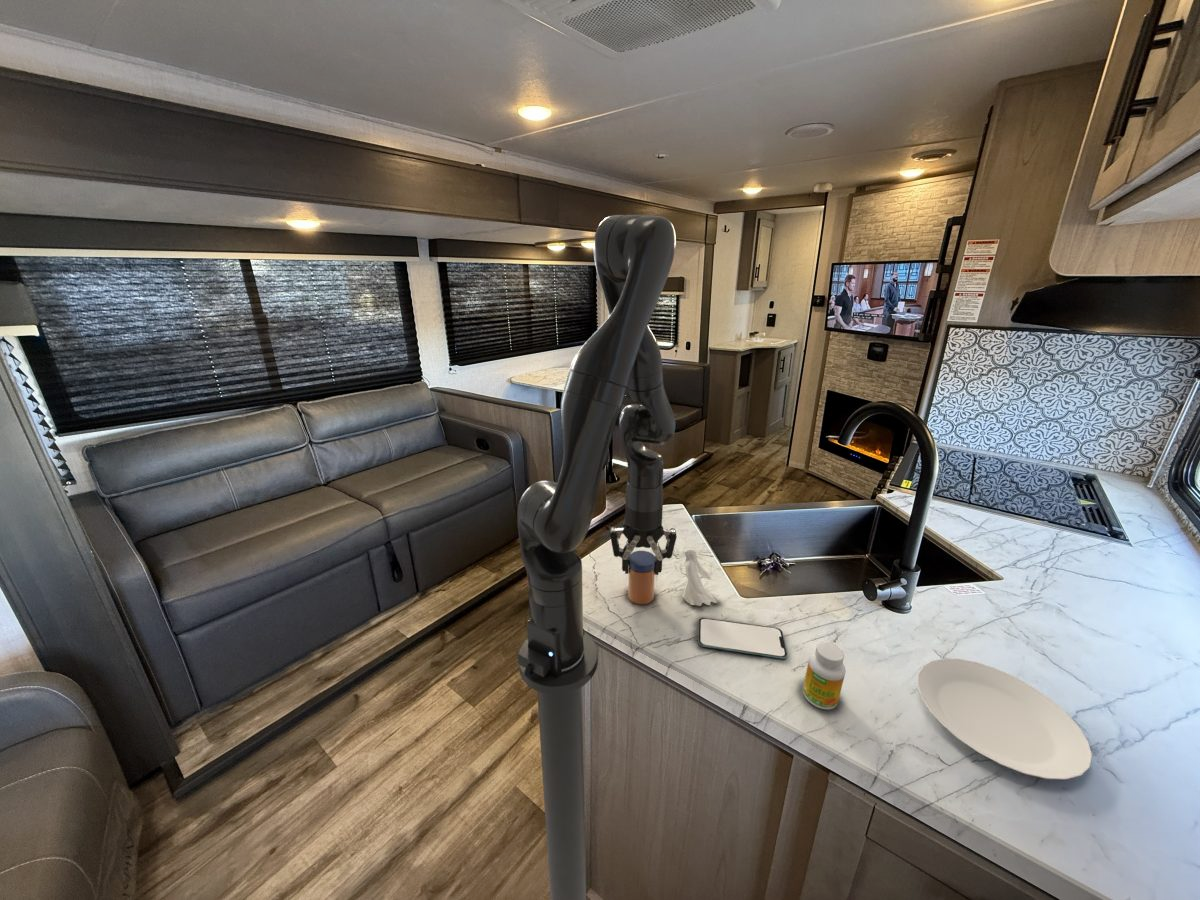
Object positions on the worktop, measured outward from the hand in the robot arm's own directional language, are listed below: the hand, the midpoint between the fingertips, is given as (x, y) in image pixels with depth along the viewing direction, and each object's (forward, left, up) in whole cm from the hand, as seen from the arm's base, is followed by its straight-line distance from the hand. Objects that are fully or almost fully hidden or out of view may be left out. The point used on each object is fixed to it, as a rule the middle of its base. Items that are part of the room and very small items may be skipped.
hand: (641, 571), depth 98 cm
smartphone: (-2, -22, -6) cm, 23 cm away
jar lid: (0, 0, +3) cm, 3 cm away
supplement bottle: (-8, -37, -6) cm, 38 cm away
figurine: (+5, -11, -6) cm, 14 cm away
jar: (0, 0, -6) cm, 6 cm away
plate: (+1, -61, -6) cm, 61 cm away
